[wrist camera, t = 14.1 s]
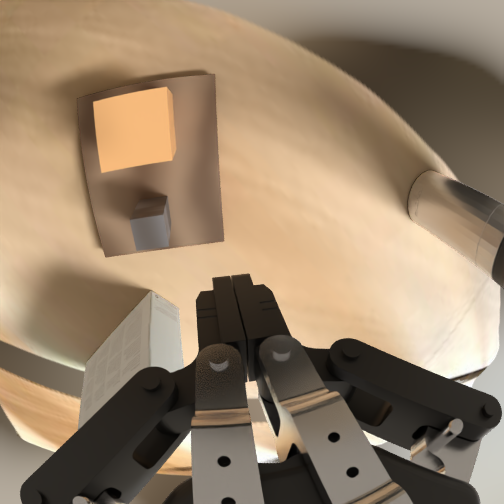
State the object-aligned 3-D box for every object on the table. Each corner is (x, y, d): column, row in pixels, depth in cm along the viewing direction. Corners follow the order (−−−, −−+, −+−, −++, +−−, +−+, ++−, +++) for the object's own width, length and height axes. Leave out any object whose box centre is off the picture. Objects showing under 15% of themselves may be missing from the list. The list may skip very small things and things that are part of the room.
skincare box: (112, 375, 39) (105, 455, 26) (86, 361, 37) (72, 442, 23) (183, 309, 36) (192, 412, 22) (152, 288, 33) (143, 394, 19)
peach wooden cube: (172, 94, 22) (166, 86, 16) (176, 149, 24) (172, 160, 18) (116, 104, 21) (93, 101, 15) (121, 158, 23) (101, 173, 17)
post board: (213, 76, 23) (221, 64, 17) (222, 235, 32) (232, 267, 26) (82, 98, 20) (53, 96, 14) (108, 251, 29) (93, 285, 23)
